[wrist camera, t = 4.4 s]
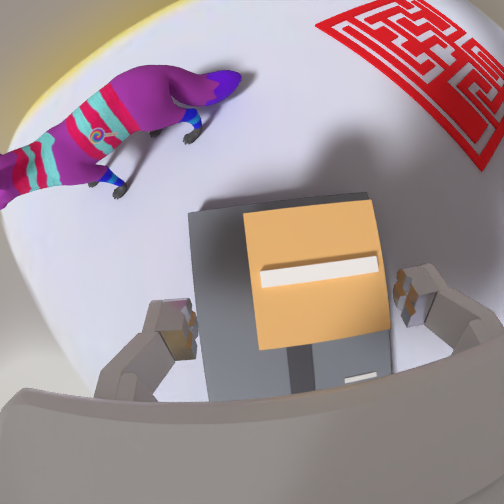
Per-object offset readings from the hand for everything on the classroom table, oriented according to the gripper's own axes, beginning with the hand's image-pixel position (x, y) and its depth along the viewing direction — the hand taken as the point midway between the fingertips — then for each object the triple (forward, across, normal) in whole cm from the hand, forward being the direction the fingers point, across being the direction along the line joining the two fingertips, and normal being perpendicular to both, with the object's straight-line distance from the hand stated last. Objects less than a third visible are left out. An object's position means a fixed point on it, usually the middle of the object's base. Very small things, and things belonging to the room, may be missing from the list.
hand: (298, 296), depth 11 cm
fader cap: (+4, 0, -4) cm, 6 cm away
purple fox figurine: (+13, -9, +3) cm, 16 cm away
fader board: (+2, 0, -7) cm, 8 cm away
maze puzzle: (+20, +21, +10) cm, 31 cm away
